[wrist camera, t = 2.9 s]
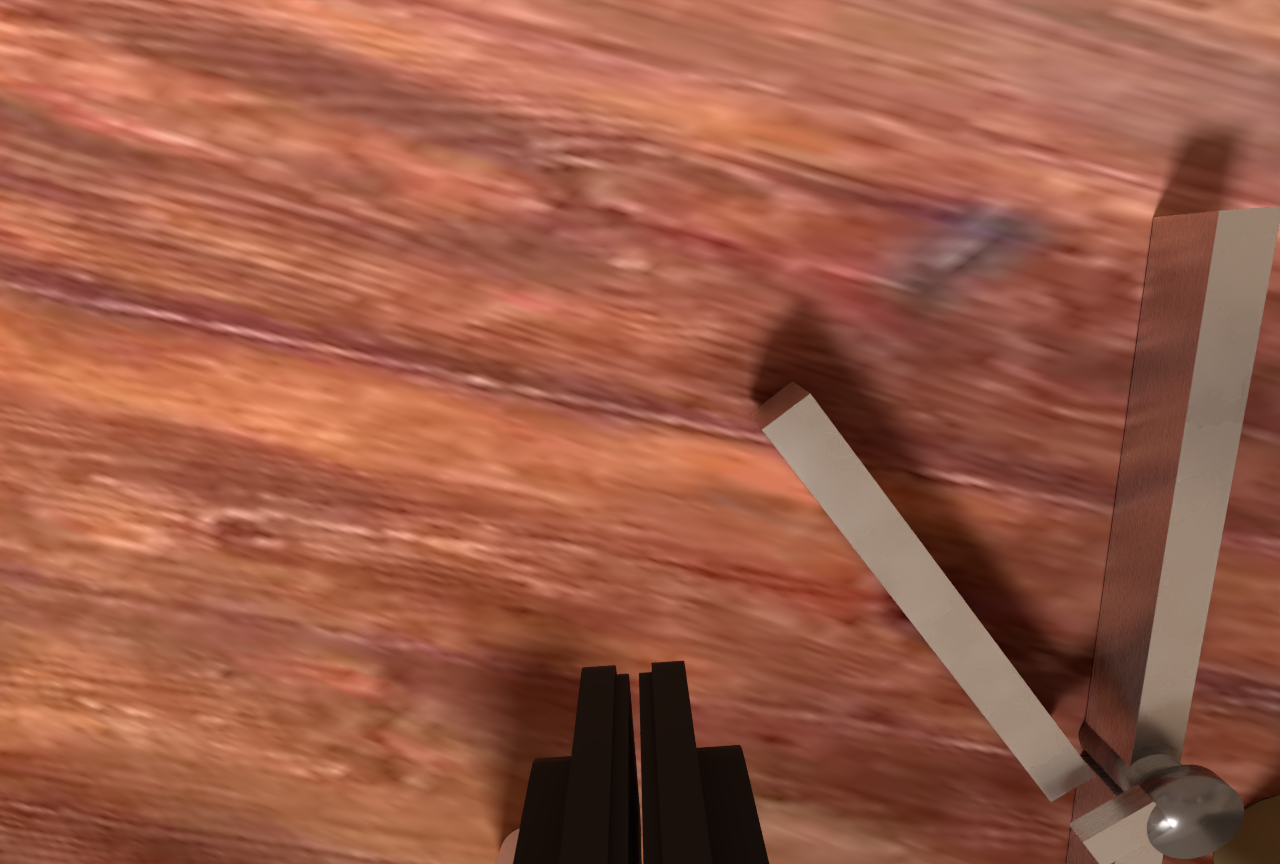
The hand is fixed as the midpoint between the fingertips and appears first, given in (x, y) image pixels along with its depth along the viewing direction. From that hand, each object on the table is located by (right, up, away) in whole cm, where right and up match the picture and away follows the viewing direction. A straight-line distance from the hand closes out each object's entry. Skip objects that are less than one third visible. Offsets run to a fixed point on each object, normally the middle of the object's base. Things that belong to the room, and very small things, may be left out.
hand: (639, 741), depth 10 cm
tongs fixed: (+20, -2, +16) cm, 26 cm away
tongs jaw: (+14, -2, +15) cm, 21 cm away
